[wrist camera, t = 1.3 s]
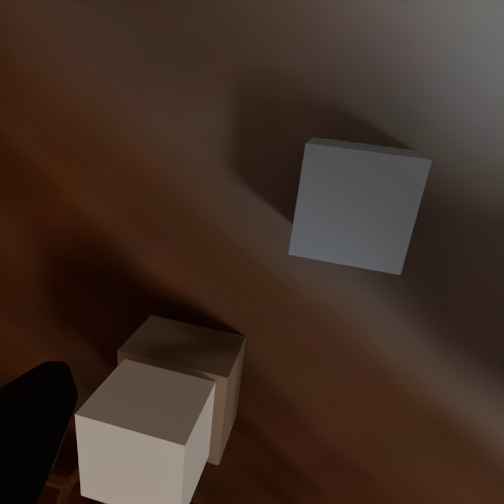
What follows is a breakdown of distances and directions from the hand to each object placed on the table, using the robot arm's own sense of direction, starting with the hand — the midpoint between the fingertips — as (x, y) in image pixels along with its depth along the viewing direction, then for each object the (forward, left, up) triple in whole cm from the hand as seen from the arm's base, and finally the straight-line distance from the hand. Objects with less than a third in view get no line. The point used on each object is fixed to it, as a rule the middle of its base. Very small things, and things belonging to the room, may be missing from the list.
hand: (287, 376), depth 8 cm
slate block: (-2, -1, -13) cm, 13 cm away
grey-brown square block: (+9, +8, -13) cm, 18 cm away
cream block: (+9, +8, -9) cm, 15 cm away
